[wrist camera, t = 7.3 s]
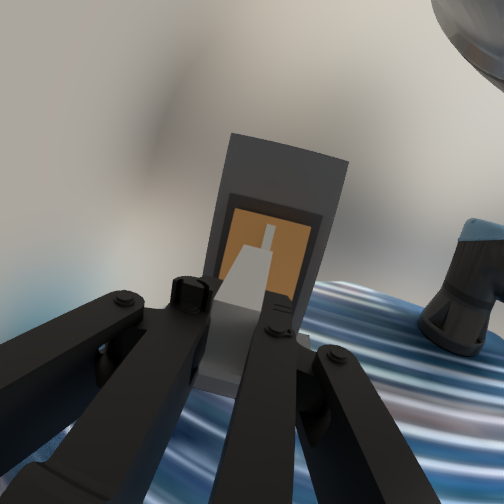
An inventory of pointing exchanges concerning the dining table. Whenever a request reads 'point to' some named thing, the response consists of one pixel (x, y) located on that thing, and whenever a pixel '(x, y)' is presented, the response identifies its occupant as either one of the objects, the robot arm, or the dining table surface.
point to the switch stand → (278, 206)
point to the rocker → (269, 247)
